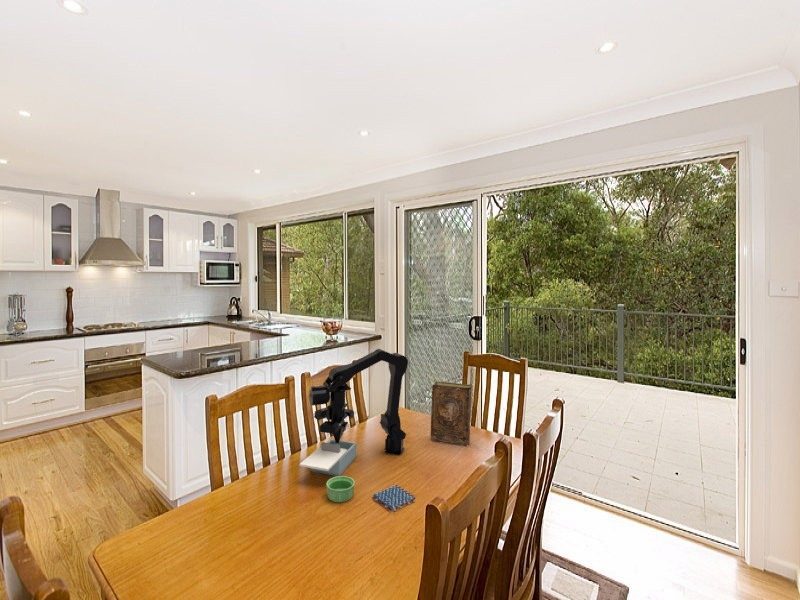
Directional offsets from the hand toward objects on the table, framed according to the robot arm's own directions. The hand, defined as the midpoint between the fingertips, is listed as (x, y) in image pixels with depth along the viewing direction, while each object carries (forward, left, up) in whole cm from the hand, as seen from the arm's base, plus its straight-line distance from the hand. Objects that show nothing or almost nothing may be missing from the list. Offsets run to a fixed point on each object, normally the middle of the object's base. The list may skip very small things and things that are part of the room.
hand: (337, 442), depth 152 cm
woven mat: (-28, +18, -8) cm, 34 cm away
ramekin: (-11, +21, -8) cm, 25 cm away
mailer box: (0, +2, -8) cm, 8 cm away
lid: (0, +10, -2) cm, 10 cm away
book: (-38, -33, -8) cm, 51 cm away
